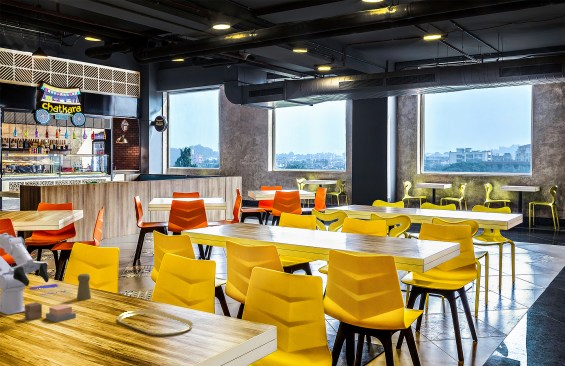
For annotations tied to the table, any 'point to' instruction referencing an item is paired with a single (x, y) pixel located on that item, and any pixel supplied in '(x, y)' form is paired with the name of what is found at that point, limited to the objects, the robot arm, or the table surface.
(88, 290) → the taupe pawn
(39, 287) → the booklet
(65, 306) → the terracotta cap
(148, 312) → the serving platter
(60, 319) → the gray slab
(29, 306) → the walnut block
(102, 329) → the table surface
